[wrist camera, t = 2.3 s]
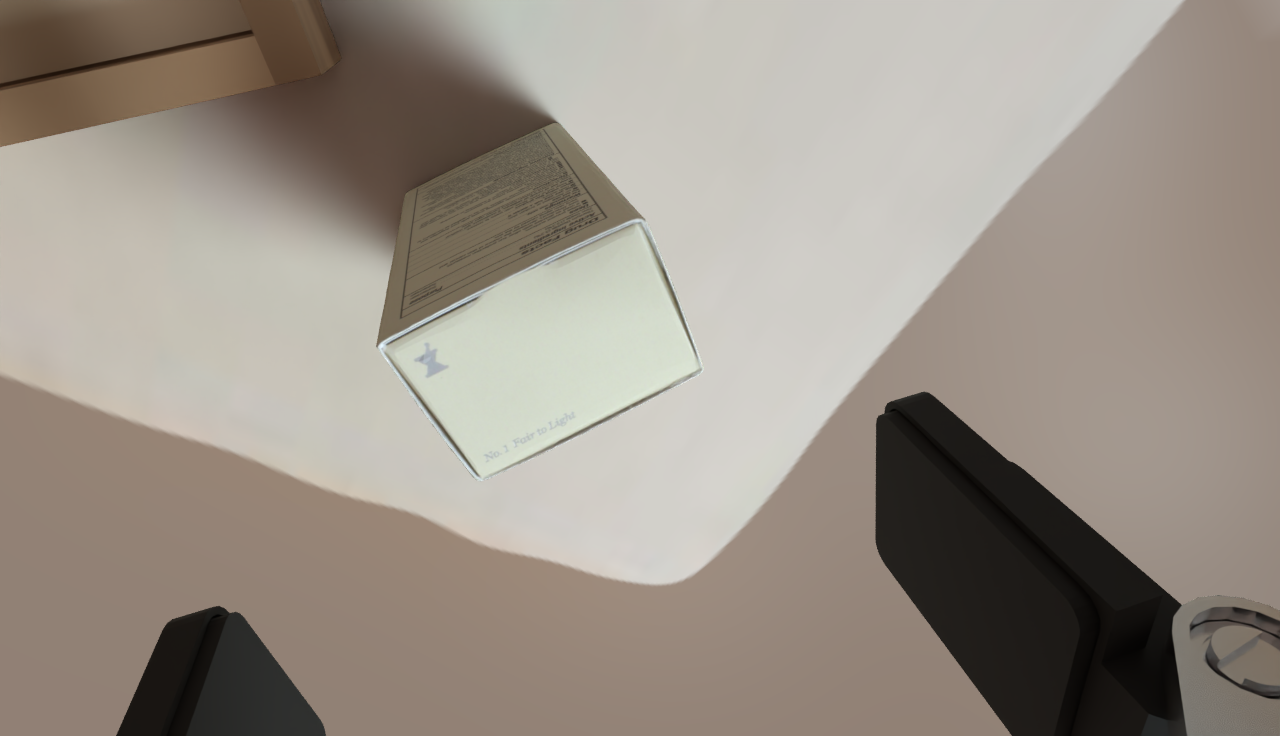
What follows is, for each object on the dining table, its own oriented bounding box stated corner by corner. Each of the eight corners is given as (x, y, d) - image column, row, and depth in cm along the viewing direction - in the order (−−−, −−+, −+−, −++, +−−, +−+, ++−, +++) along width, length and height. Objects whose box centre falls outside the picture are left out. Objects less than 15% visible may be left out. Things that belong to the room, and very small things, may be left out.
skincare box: (462, 291, 26) (470, 495, 16) (399, 186, 24) (360, 348, 14) (611, 221, 26) (713, 380, 16) (562, 109, 24) (646, 213, 14)
